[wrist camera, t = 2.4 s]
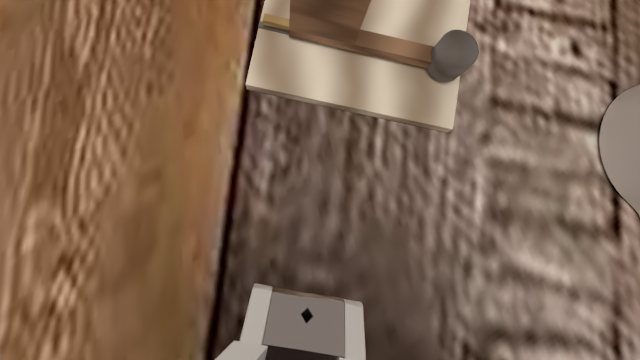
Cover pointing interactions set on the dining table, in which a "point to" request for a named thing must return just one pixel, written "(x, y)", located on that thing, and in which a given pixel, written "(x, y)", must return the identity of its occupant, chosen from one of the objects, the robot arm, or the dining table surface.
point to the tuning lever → (374, 37)
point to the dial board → (363, 65)
